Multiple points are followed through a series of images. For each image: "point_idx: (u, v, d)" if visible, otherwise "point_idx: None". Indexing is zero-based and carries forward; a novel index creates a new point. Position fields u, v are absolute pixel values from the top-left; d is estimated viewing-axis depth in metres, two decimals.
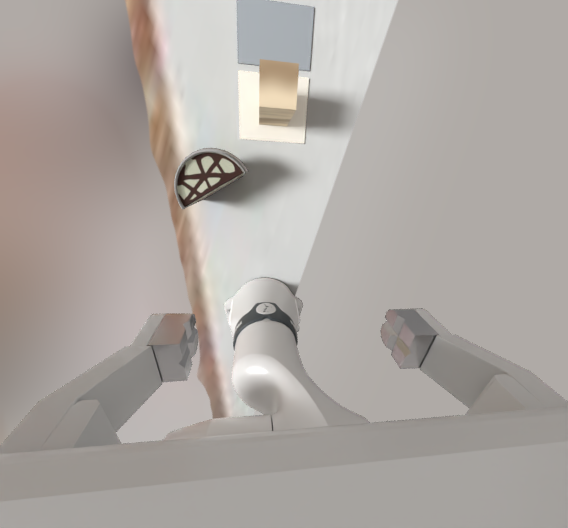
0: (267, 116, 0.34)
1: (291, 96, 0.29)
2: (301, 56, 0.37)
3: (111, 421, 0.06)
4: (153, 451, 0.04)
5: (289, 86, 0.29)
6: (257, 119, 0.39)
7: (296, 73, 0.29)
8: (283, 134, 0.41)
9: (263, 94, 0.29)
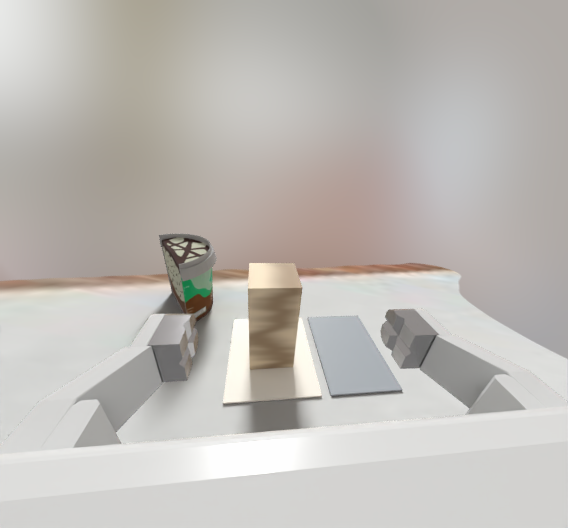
0: None
1: (263, 284, 0.21)
2: (341, 379, 0.25)
3: (112, 421, 0.06)
4: (153, 451, 0.04)
5: (274, 282, 0.21)
6: None
7: (290, 286, 0.21)
8: (238, 368, 0.25)
9: (261, 265, 0.24)
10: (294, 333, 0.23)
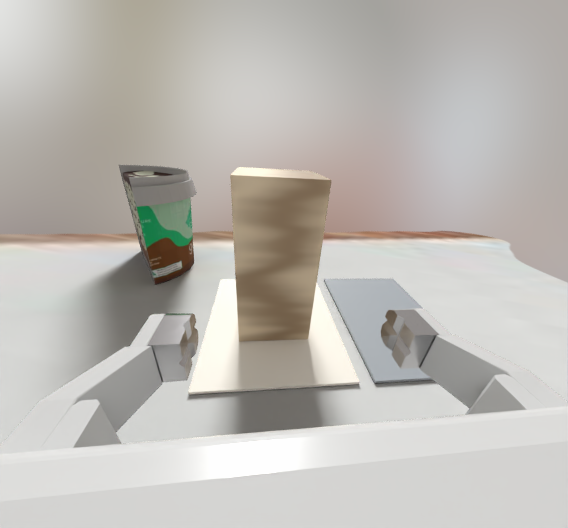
0: None
1: (260, 174, 0.11)
2: (387, 357, 0.15)
3: (112, 421, 0.06)
4: (153, 451, 0.04)
5: (280, 175, 0.12)
6: None
7: (310, 178, 0.11)
8: (221, 339, 0.16)
9: (258, 168, 0.15)
10: (312, 277, 0.14)
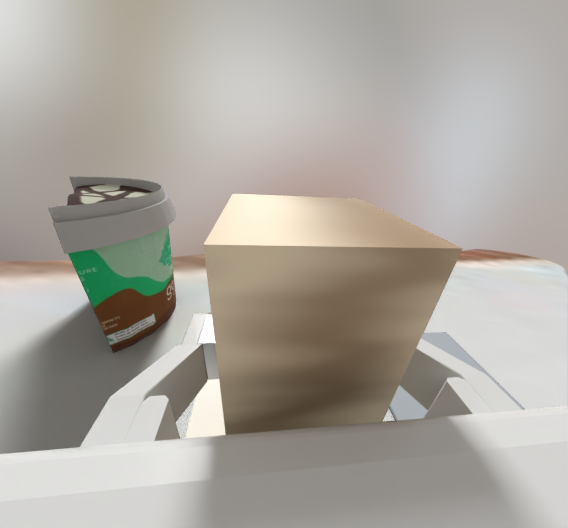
0: None
1: (281, 232, 0.05)
2: None
3: None
4: (153, 451, 0.04)
5: (327, 229, 0.05)
6: None
7: (406, 243, 0.04)
8: None
9: (269, 198, 0.08)
10: (377, 414, 0.07)
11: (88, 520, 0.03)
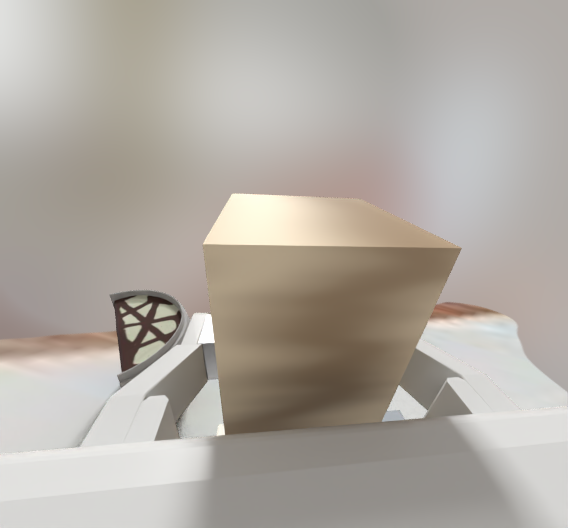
0: None
1: (280, 232, 0.05)
2: None
3: None
4: (153, 451, 0.04)
5: (326, 228, 0.05)
6: None
7: (406, 242, 0.04)
8: None
9: (269, 197, 0.08)
10: (377, 414, 0.07)
11: (88, 520, 0.03)
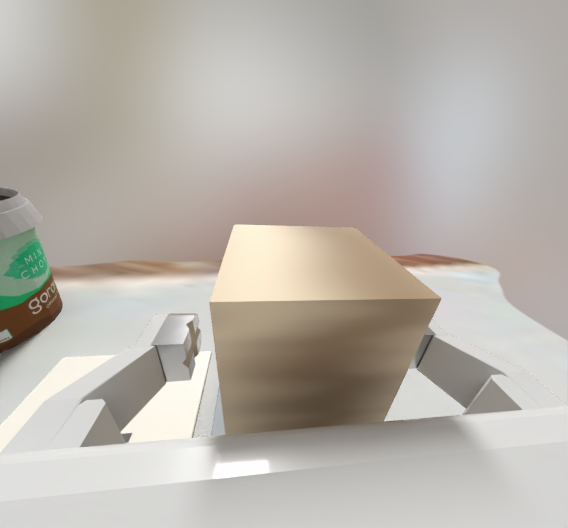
0: None
1: (278, 282, 0.05)
2: None
3: (116, 421, 0.06)
4: (153, 451, 0.04)
5: (320, 274, 0.06)
6: None
7: (391, 292, 0.05)
8: None
9: (268, 230, 0.08)
10: None
11: (88, 520, 0.03)
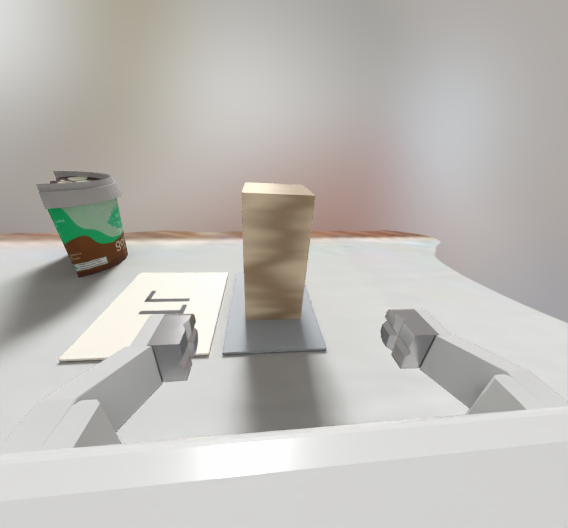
0: None
1: (262, 191, 0.15)
2: (246, 335, 0.18)
3: (111, 421, 0.06)
4: (153, 451, 0.04)
5: (278, 191, 0.16)
6: (159, 287, 0.23)
7: (299, 194, 0.15)
8: (111, 321, 0.19)
9: (261, 184, 0.19)
10: (303, 268, 0.18)
11: (88, 520, 0.03)
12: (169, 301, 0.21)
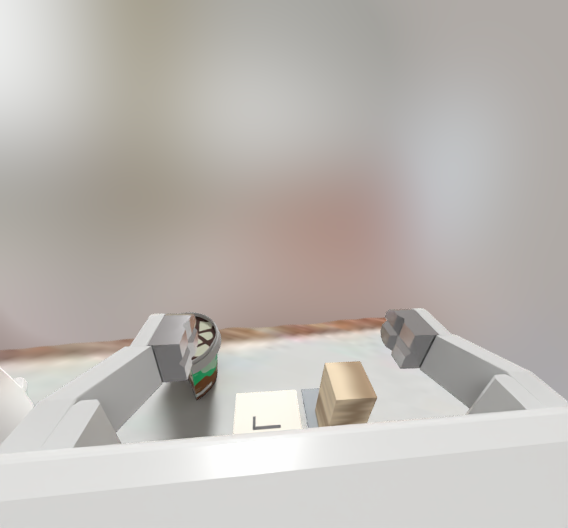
0: (322, 394, 0.31)
1: (346, 393, 0.26)
2: None
3: (111, 421, 0.06)
4: (153, 451, 0.04)
5: (353, 390, 0.27)
6: (255, 412, 0.34)
7: (368, 395, 0.26)
8: None
9: (335, 366, 0.29)
10: None
11: (88, 520, 0.03)
12: (268, 428, 0.32)
